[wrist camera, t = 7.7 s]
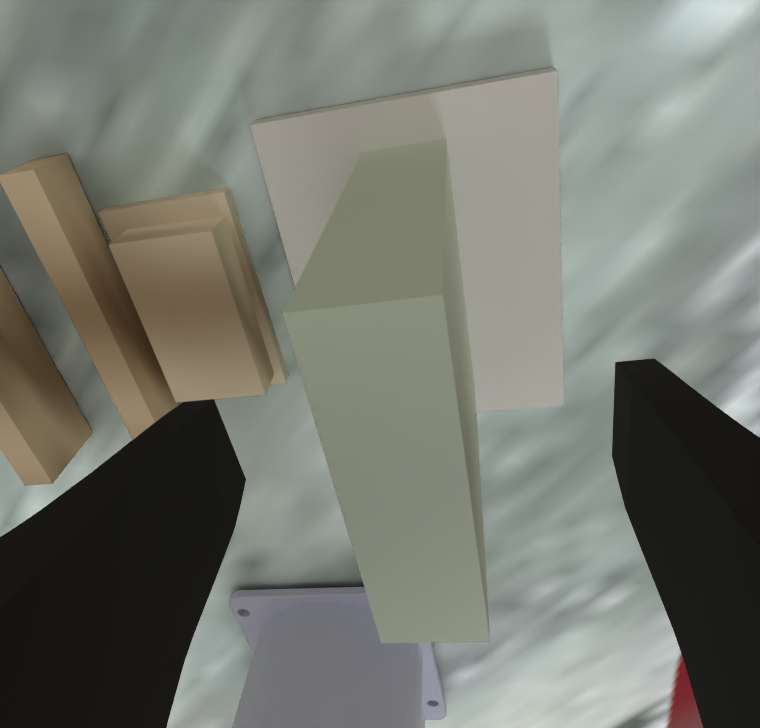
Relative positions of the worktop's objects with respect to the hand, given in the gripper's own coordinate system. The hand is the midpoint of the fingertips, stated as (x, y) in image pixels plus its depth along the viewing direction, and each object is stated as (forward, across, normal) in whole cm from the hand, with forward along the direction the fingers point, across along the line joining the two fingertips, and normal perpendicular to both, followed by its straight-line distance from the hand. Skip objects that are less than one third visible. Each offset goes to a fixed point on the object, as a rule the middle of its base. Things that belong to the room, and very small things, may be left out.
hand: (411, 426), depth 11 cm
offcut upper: (+6, +6, 0) cm, 9 cm away
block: (+6, 0, 0) cm, 6 cm away
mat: (+6, 0, 0) cm, 7 cm away
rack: (+7, +11, 0) cm, 13 cm away
